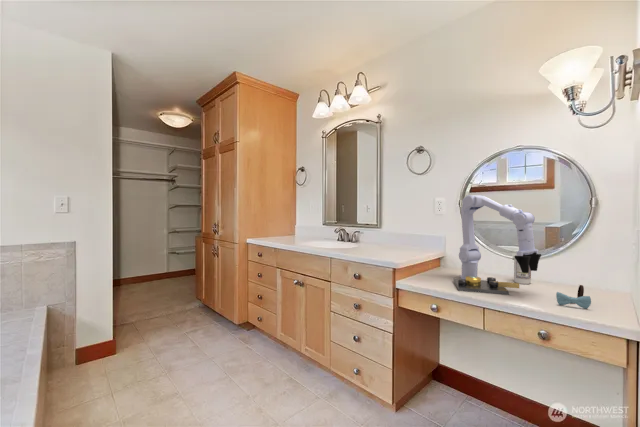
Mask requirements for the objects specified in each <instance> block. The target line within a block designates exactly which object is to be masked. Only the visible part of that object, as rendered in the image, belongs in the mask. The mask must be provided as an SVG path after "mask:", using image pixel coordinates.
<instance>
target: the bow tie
mask: <svg viewBox="0 0 640 427" xmlns="http://www.w3.org/2000/svg"><path fill="white" fill-rule="evenodd" d="M555 297H556V302H557V304H558V305H559V306H564V305H565V306H566V305H569V304H576V305H577V306H578V307H579V308H582V309H584V310H585V309H586V310H587V309H589V308H590V306H591V304H592V299H591V296H589V295H585V296H584V295H583V296H582V297H578V298H577V297H573V296H569V295H567V294H564V293H561V292H559V291H557V292H556V295H555ZM570 297H571V298H570Z"/></svg>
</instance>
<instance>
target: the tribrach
mask: <svg viewBox="0 0 640 427" xmlns="http://www.w3.org/2000/svg"><path fill="white" fill-rule="evenodd" d="M486 278H487V279H486V280H484V279H483V280H482V278H481V277H479V276H477V277H476V276H466V279H461V278H458V277H457V278H453V279H452V280H453V283H454V285H455V287H456V288H457V289H456V290H457V291H458V292H471V293H481V294H494V295H506V296H507V295H508V296H509V295H510V290H508V289H507V287H491V286H489V281H497V282H499V281H498V280H497V278H496V277H492V276H490V277H486Z"/></svg>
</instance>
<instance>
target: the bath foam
mask: <svg viewBox="0 0 640 427" xmlns="http://www.w3.org/2000/svg"><path fill="white" fill-rule="evenodd" d="M514 256H517V253H515V255H514ZM513 263H514V264H513V283H519V285H520V284H521V285H530V284H531V282H532V281H531V280H532V271H531V270H530V266H529V273H522V270H521V268H520V265H519V263H518V262H517V260H516V259H515V257H513Z"/></svg>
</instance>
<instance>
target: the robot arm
mask: <svg viewBox="0 0 640 427" xmlns="http://www.w3.org/2000/svg"><path fill="white" fill-rule="evenodd" d="M461 204H462V205H461V209H460V215H461V216H460V217H461V229H462V230H461V231H462V242H463V244H462V245H461V246H460V247H459V252H458V258H459V260H460V262H461V274H460V275H459V279H466V276H476V277H478V269H479V268H478V263H479V261H480V260H481V258H482V253H481V252H480V248H479V246H478V245H477V244H476V236H475V225H474V214H475V212H476V211H477V210H480V209H482V208H484V207H486V208H490V209H491V210H493V211H496V212H498V214H499V215H500V216H501V217H503V218H504V219H507V220H509V221H511V222H512V223H513V224H514V225H515V228H516V233H517V243H518V250H517V251H516V253H517V256H515V255H514V257H513V258H515V259H516V260H517V262H518V263H519V265H520V268H521V270H522V273H529V266H530V270H531V272H537V271H538V267H539V261H540V259H541V257H542V254H541V253H539V251H540V250H539V249H538V248H536V243H535V237H534V235H535V234H534V228H533V223H534V222H535V216H534V214H533V213H531V212H530V211H523V209H521V208H519V209H518V208H516V207H514V205H513V204H511V203H510V204H504V205H503V204H501V203H499V202H497V201H496V200H493V199H491V198H489V197H488V196H485V195H483V194H475V195H474V194H467V195H465V197H463V198H462V200H461ZM516 253H515V254H516Z"/></svg>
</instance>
